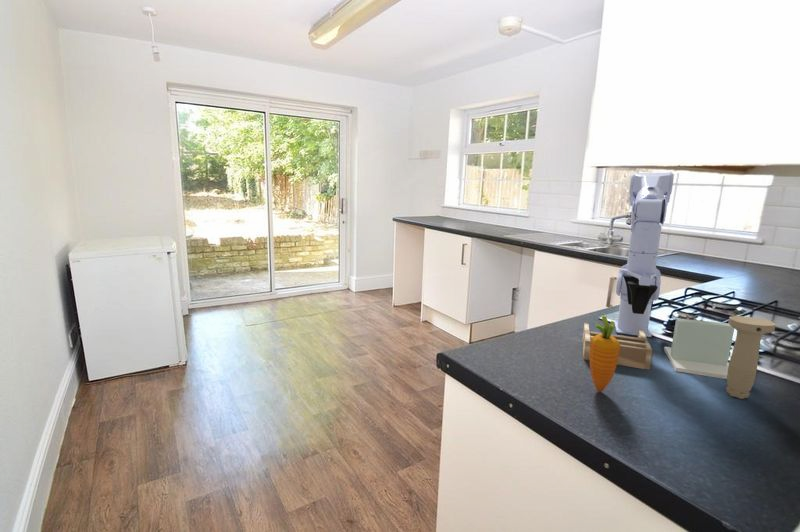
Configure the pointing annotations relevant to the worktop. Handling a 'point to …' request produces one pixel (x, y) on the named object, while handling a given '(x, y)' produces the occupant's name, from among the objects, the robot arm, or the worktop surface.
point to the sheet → (702, 341)
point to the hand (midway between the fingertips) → (635, 308)
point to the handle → (745, 353)
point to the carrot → (603, 355)
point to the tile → (697, 367)
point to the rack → (624, 349)
